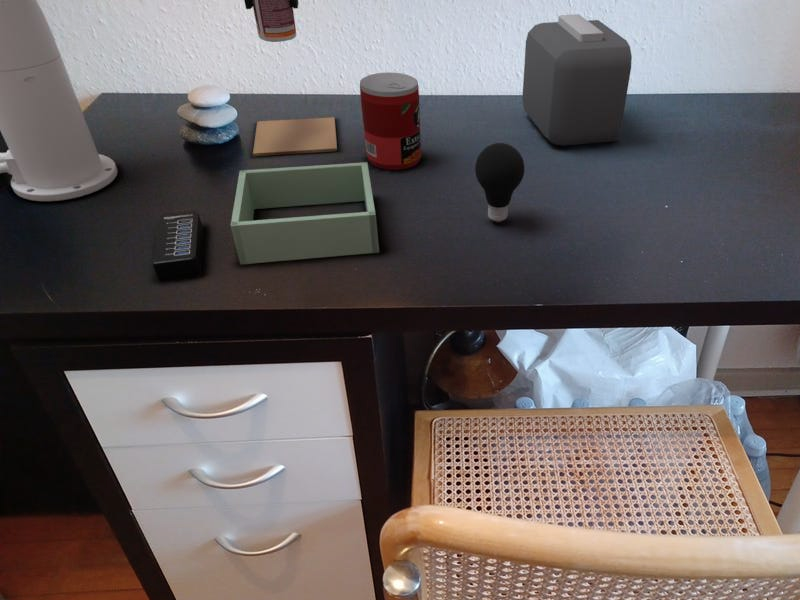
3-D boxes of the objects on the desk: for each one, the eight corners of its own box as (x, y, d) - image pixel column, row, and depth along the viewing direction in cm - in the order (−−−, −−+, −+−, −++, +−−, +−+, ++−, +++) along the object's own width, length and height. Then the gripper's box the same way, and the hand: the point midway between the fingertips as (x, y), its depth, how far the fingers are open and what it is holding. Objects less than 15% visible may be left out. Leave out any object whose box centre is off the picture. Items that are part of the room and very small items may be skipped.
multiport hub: (157, 281, 72) (151, 263, 70) (164, 231, 79) (158, 213, 78) (200, 275, 73) (195, 258, 71) (203, 226, 80) (198, 209, 79)
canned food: (413, 173, 92) (409, 94, 85) (359, 167, 93) (350, 88, 86) (427, 151, 98) (425, 74, 91) (376, 145, 99) (369, 69, 92)
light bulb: (497, 205, 86) (500, 130, 79) (530, 222, 83) (536, 146, 76) (464, 221, 83) (465, 144, 76) (497, 239, 80) (501, 160, 73)
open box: (240, 264, 74) (230, 225, 71) (248, 206, 84) (239, 170, 81) (379, 252, 77) (375, 214, 73) (370, 197, 87) (367, 161, 83)
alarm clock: (618, 147, 100) (636, 37, 90) (547, 153, 98) (557, 42, 88) (580, 107, 112) (592, 7, 102) (516, 112, 110) (522, 10, 100)
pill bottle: (304, 36, 85) (294, -39, 79) (276, 45, 82) (264, -33, 76) (278, 29, 87) (267, -44, 81) (250, 37, 84) (236, -38, 78)
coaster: (253, 156, 95) (252, 153, 95) (257, 124, 104) (257, 121, 104) (337, 151, 97) (337, 148, 97) (334, 120, 106) (334, 117, 106)
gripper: (323, -183, 74) (341, -3, 86) (164, -187, 72) (205, -1, 84) (322, -180, 68) (342, 13, 80) (150, -184, 66) (196, 15, 78)
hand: (272, 4), depth 82 cm, fingers closed on pill bottle, 4 cm apart
